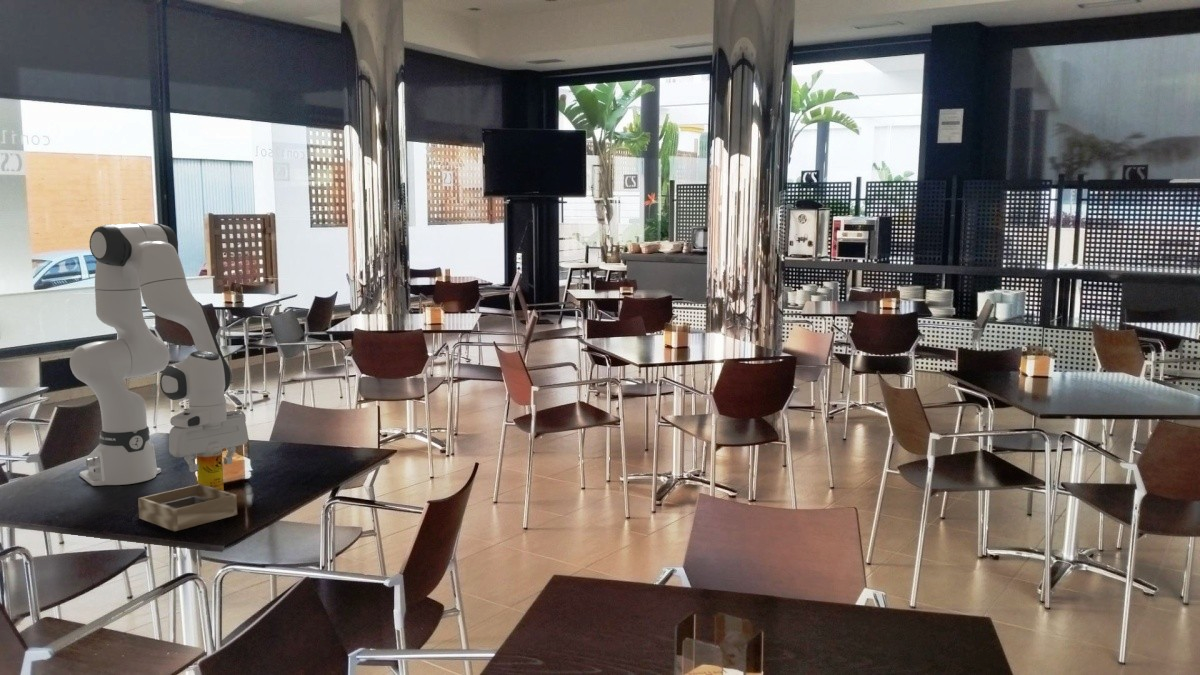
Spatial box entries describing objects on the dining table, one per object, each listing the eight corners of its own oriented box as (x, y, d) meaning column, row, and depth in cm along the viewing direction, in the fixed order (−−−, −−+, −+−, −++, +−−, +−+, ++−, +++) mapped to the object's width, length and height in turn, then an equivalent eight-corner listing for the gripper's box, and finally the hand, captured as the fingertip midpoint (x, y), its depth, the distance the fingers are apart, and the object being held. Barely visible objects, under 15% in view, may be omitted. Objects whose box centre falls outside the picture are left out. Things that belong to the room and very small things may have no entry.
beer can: (214, 502, 241) (212, 444, 239) (193, 500, 242) (190, 443, 241) (228, 495, 247) (226, 439, 245) (207, 494, 248) (205, 438, 246)
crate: (139, 518, 228) (138, 498, 227) (201, 502, 240) (200, 483, 240) (174, 531, 218) (173, 510, 217) (237, 514, 231) (236, 494, 230)
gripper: (237, 407, 252) (240, 458, 254) (163, 419, 236) (167, 473, 237) (251, 409, 248) (254, 461, 250) (177, 422, 232) (180, 477, 234)
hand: (211, 467), depth 243 cm, fingers open, 8 cm apart
